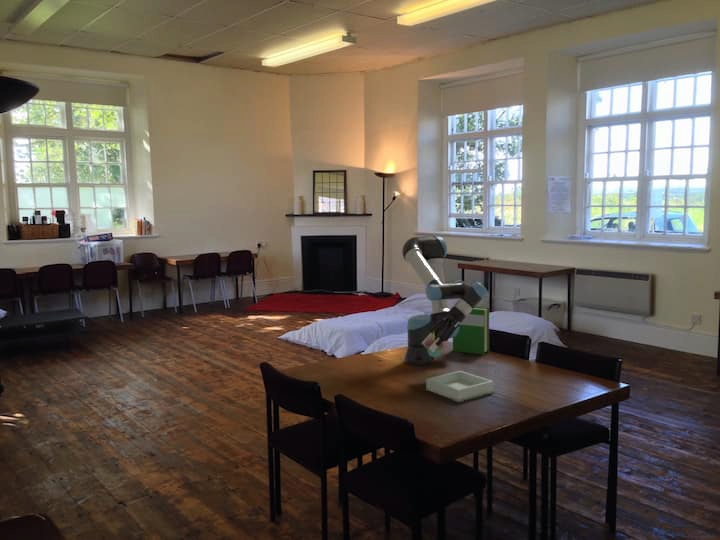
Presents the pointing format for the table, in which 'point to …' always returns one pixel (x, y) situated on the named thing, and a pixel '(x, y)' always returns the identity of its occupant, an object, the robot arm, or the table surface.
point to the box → (459, 386)
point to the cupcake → (438, 350)
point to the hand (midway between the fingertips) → (427, 347)
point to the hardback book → (473, 332)
